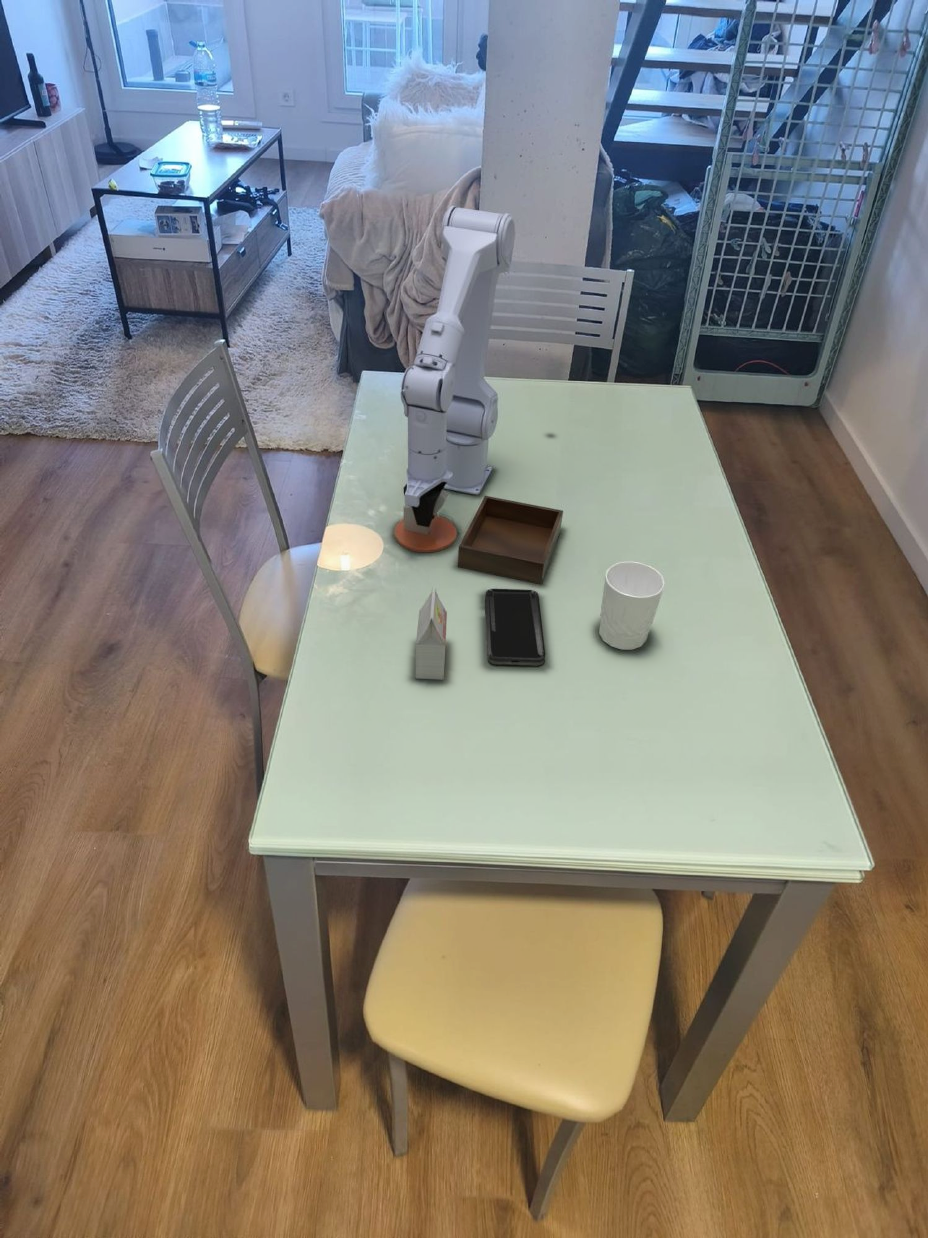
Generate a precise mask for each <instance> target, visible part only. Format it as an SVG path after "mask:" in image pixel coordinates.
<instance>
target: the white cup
mask: <svg viewBox="0 0 928 1238" xmlns="http://www.w3.org/2000/svg"><path fill="white" fill-rule="evenodd" d="M665 586H666V585H665V578H664V576H663V575H662V574H661V572H659V571H658V570H657V569H656V568H654V567H653V566H651V565H648V564H646V563H643V562H638V561H629V560H628V561H620V562H616V563H614V564H612V565H610V566H609V567H608V568H607V570H606V571H605V576H604V583H603V591H602V598H601V603H600V604H601V605H600V615H599V616H600V621H599V630H598V634H599V636H600V638H601V640H602V641H603V642H604V643H606V644H607V645H609V646H610V647H612V648H616V649H619V650H624V651H625V650H628V651H629V650H630V651H631V650H635V649H638V648H641V647H642V646H643V645H644V644H645V643H646V642H647V640H648V636H649V632H650V629H651V627H652V626H653V624H654V623H653V622H654V619H655V616H656V613H657V611H658V607H659V605H660V601H661V598H662V595H663V591H664V588H665Z"/></svg>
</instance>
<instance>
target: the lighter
mask: <svg viewBox="0 0 928 1238" xmlns="http://www.w3.org/2000/svg"><path fill="white" fill-rule="evenodd" d="M449 496H450V492H448V491H446V489H442V491H441V494H440V495H439V497H438V498H437V501H436V503H435V507H434V511H433V515H434V516H437V515H438V513H439V511H440V510H441V509H442V507H443V505H444V504H445V503H446V501H447V499H448V497H449ZM403 519H404V530H407V531H412V532H417V533H422V534H426V535H427V534H428V533H429V531H430V530H431V524H430V526H429V527H424V526H419V525H417V523H416V520H415V517H414V513H413V510H412V507H411V506H409V505H405V504H404V505H403Z"/></svg>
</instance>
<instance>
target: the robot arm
mask: <svg viewBox="0 0 928 1238" xmlns="http://www.w3.org/2000/svg"><path fill="white" fill-rule="evenodd" d="M515 238H516V226H515V220H514V218H513V216H512V214H511V213H507V212H506V213H498V212H491V211H484V210H480V209H479V210H478V209H471V208H464V207H459V206H456V205H451V206H450V207H448V209H447V210H446V211H445V213H444V215H443V219H442V222H441V228H440V239H441V240H440V241H441V245H442V253H443V256H444V259H445V261H446V264H445V268H444V269H445V270H444V274H443V280H442V283H441V284H442V285H441V289H440V294H439V300H438V305H437V310H436V313H435V314H432V315H431V316H429V317H428V318H427V319H426V321H425V325H424V326H423V331H422V334H421V338H420V341H419V344H418V348H417V351H416V355H415V358H414V360H413V361H414V362H413V365H412V366H408V367H407V368H406V369H405V371H404V372H403V376H402V380H401V386H400V400H401V403H402V404H403V414H404V417H406V418H407V468H406V484H405V485H404V486H403V496H404V505H409V506H411V507H412V510H413V513H414V517H415V520H416V523H417V525H419V526H424V527H429V526H430V524H431V521H432V519H434V518H435V516H434V515H433V511H434V507H435V503H436V501H437V498H438V497H439V495H440V494H441V491H442V489H443V490H448V491H449V490H451V491H455V492H461V493H465V494H471V495H475V496H478V495H480V494H481V491H482V489H483V488H484V486H485V483H486V482H487V480H488V477H489V476H490V474H491V472H492V469H493V468H492V466H489V465H488V453H489V439H490V438H491V437H493V435H494V433H495V431H496V428H497V423H498V418H499V417H498V416H499V409H498V405H499V404H498V403H499V397H498V392H497V391H496V390H495V389H494V388H493V387H492V386H491V385H490V384H489V383H488V382H487V380H486V379H485V373H486V366H487V359H488V350H489V342H490V337H491V334H490V333H491V328H492V320H493V312H494V305H495V304H494V303H495V297H496V289H497V284H498V280H499V277H500V275H501V274H504V273H507V272H510V267H511V265H512V259H513V253H514V247H515V240H516V239H515Z"/></svg>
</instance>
